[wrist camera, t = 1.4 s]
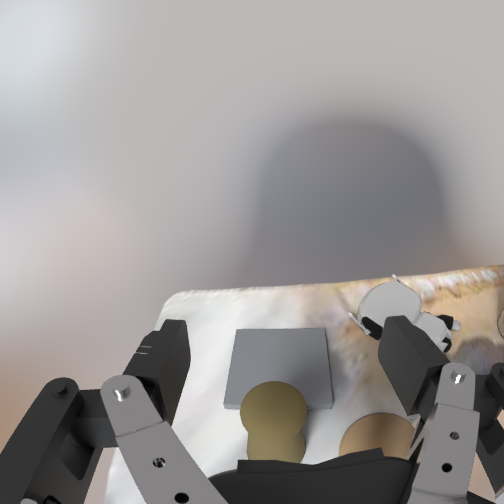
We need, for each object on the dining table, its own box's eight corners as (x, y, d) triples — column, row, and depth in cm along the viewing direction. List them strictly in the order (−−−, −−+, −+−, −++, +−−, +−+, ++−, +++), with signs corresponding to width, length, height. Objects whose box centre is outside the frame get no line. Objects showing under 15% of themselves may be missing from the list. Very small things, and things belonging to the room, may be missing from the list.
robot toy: (457, 336, 35) (384, 290, 45) (469, 315, 32) (391, 268, 42) (422, 390, 29) (339, 329, 39) (436, 370, 26) (344, 306, 36)
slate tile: (323, 333, 39) (324, 327, 38) (331, 408, 28) (332, 403, 28) (237, 335, 40) (236, 329, 39) (225, 408, 30) (223, 403, 29)
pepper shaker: (266, 417, 28) (259, 359, 23) (315, 438, 25) (327, 385, 20) (235, 458, 24) (215, 413, 19) (287, 483, 21) (289, 450, 16)
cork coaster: (409, 410, 26) (411, 407, 26) (422, 477, 18) (425, 475, 18) (336, 420, 27) (337, 417, 27) (340, 493, 20) (341, 491, 19)
